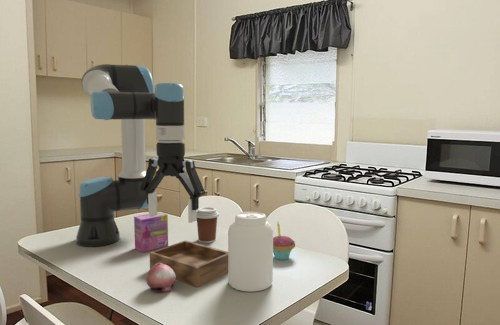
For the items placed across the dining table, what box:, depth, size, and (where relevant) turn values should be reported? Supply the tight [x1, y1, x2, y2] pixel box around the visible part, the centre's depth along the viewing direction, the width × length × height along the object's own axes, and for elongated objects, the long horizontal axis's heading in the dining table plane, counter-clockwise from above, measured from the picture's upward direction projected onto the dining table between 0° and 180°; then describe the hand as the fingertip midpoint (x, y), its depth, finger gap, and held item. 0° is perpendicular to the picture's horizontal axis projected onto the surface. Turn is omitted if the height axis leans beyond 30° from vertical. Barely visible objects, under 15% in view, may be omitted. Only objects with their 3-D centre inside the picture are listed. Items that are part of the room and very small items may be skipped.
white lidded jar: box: [227, 210, 274, 293], centre depth 113 cm, size 12×12×20 cm
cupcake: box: [273, 222, 296, 261], centre depth 134 cm, size 9×8×12 cm
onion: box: [146, 263, 176, 293], centre depth 110 cm, size 8×8×7 cm
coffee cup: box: [196, 206, 220, 244], centre depth 151 cm, size 9×9×12 cm
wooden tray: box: [149, 240, 228, 288], centre depth 123 cm, size 20×15×6 cm
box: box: [133, 211, 169, 253], centre depth 143 cm, size 10×6×12 cm, turn 131°
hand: (172, 218), depth 111 cm, fingers open, 13 cm apart
